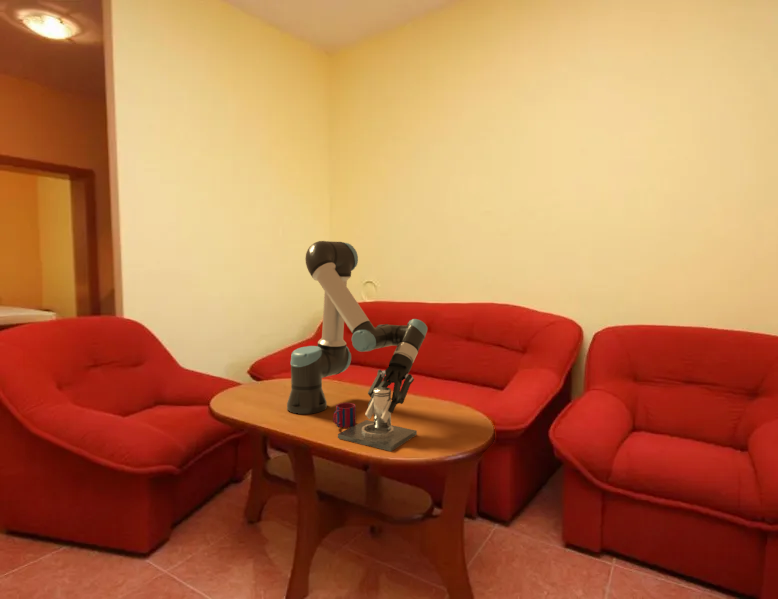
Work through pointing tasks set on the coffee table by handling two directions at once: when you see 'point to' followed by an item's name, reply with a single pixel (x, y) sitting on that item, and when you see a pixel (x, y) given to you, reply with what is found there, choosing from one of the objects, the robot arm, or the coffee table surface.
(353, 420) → the mug
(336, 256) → the robot arm
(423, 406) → the coffee table surface
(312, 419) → the coffee table surface
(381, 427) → the disc
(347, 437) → the grey base plate
